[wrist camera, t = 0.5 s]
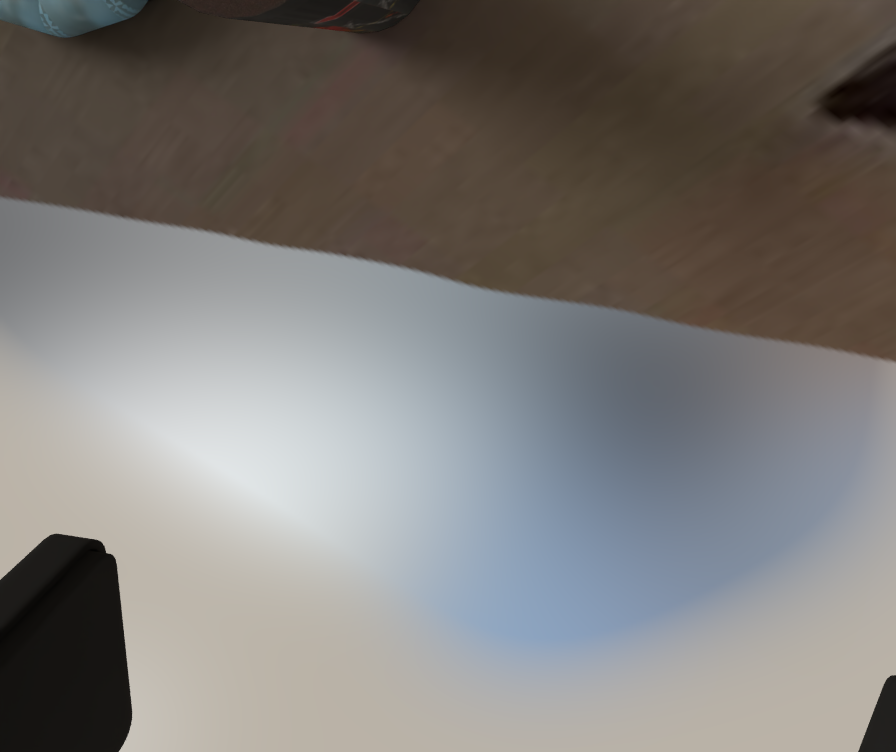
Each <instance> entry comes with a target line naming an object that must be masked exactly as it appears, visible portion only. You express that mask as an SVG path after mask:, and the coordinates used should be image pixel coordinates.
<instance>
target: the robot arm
mask: <svg viewBox="0 0 896 752" xmlns="http://www.w3.org/2000/svg"><path fill="white" fill-rule="evenodd" d="M131 721H132V706H131V696H130V686H129V677H128V667H127V658H126V649H125V639H124V630H123V620H122V610H121V601H120V592H119V583H118V573H117V564H116V559H115V558H114V556H113V555H111V554H107V553H106V551H105V547H104V545H103V544H102V542H100V541H98V540H94V539H88V538H81V537H75V536H68V535H62V534H53V535H50V536H49V537H47V538H46V539H44V540H43V541H42V542H41V543H40V544H39V545H38V546H37V547H36V548H34V549H33V550H32V551H31V552H30V553H29V554H28V555H27V556H26V557H25V558H24V559H23V560H21V561H20V562H19V563H18V564H17V565H16V566H15V567H14V568H13V569H12V570H11V571H10V572H8V573H7V574H6V575H5V576H4V577H3V578H2V579H1V580H0V752H119V750H120V749H121V747H122V746H123V744H124V742H125V740H126V738H127V735H128V733H129V730H130V726H131ZM858 752H896V675H894V676H890V677H889V678H887V680H886V682H885V684H884V686H883V688H882V691H881V694H880V697H879V699H878V702H877V704H876V707H875V709H874V712H873V715H872V717H871V720H870V722H869V725H868V728H867V730H866V733H865V735H864V738H863V741H862V744H861V746H860V749H859V751H858Z"/></svg>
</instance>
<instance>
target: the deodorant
mask: <svg viewBox="0 0 896 752" xmlns="http://www.w3.org/2000/svg"><path fill="white" fill-rule="evenodd" d="M178 1H180V2H182V3H184V4H185V5H187V6H189V7H191V8H193V9H195V10H197V11H198V12H201V13H206V14H210V15H215V16H219V17H224V18H229V19H238V20H247V21H256V22H265V23H274V24H284V25H293V26H302V27H311V28H320V29H329V30H339V31H348V32H357V33H367V32H378V31H381V30H384V29H386V28H389V27H391V26H394V25H395V24H397V23H398V22H399V21H401V20H402V19H403V18H405V17H406V16H407V15H409V13H410V12H411V11H412V9H413V8H414V7H415V5H416V4H417V3H418V2H419V0H178Z"/></svg>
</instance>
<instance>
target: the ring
mask: <svg viewBox="0 0 896 752" xmlns="http://www.w3.org/2000/svg"><path fill="white" fill-rule="evenodd" d="M147 2H148V0H0V20H3V21H6V22H9V23H13V24H16V25H19V26H23V27H26V28H30V29H33V30H36V31H40V32H43V33H47V34H50V35H53V36H58V37H63V38H69V37H75V36H78V35H81V34H84V33H87V32H90V31H93V30H96V29H99V28H102V27H105V26H108V25H111V24H114V23H117V22H120V21H123V20H126V19H129V18H131V17H133V16H135V15H136V14H137V13H139V12H140V11H141V10H142V9H143V7H144V6H145V4H146V3H147Z"/></svg>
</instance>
